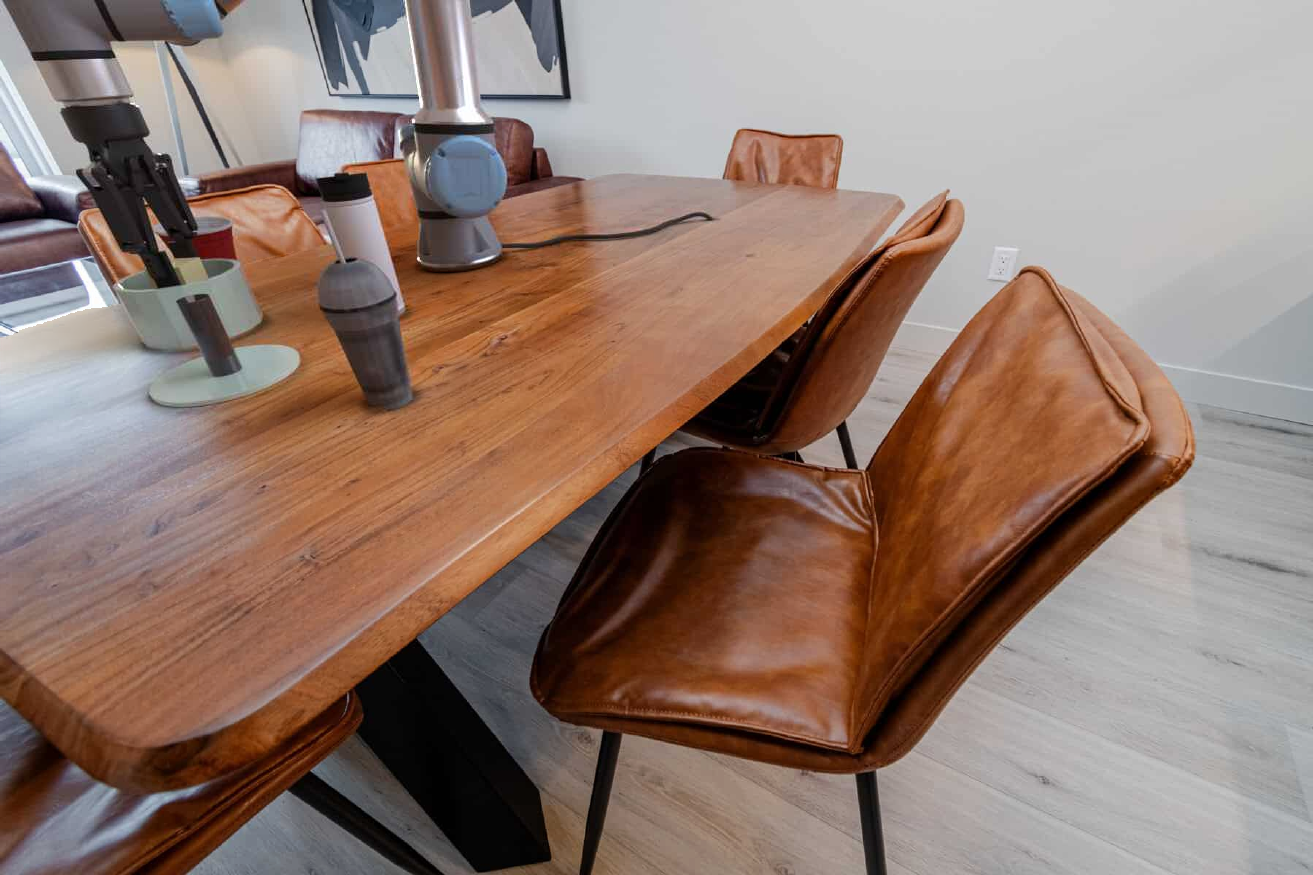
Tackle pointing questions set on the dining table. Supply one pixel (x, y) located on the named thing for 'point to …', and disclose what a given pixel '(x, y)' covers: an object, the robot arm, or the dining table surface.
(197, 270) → the block
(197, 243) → the plastic cup
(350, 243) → the travel mug
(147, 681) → the dining table surface
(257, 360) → the lid
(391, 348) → the beverage cup
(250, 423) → the dining table surface
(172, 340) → the bowl
